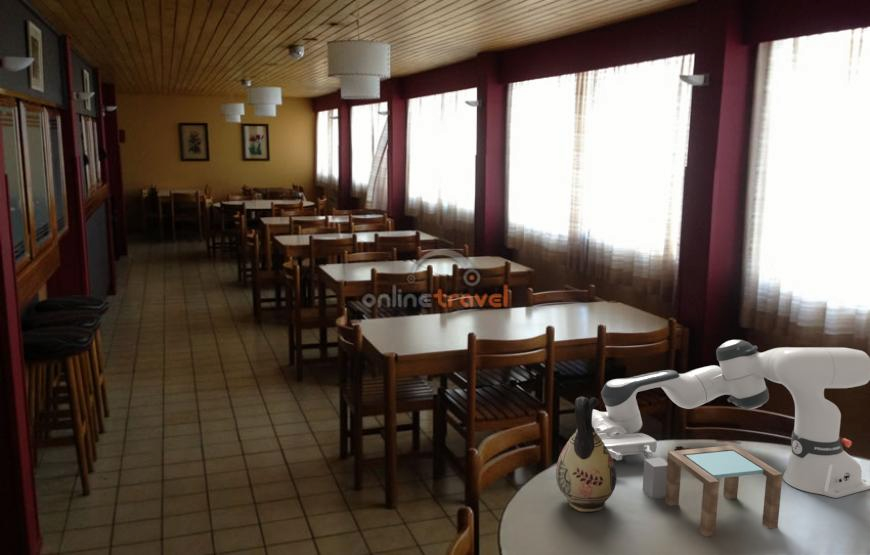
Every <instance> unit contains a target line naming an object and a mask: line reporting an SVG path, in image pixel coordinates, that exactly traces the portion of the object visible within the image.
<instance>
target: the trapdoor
mask: <svg viewBox="0 0 870 555" xmlns="http://www.w3.org/2000/svg"><path fill="white" fill-rule="evenodd" d="M685 457H686V458H688V459H689V460H691V461H692V462H693V463H695V464H696V465H698V466H699V467H700V468H702V469H703V470H704V471H706V472H707V473H709V474H710V475H711V476H713V477H714V478H716V479H717V480H718V479H725V478H727V477H736V476H739V477H743V476H753V475H763V469H761V468H760V467H758V466H757V465H755V464H753V463H752V462H750V461H749V460H747V459H745V458H744V457H742V456H741V455H739V454H738V453H736V452H734V451H724V452H714V453H704V454H694V455H685Z"/></svg>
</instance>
